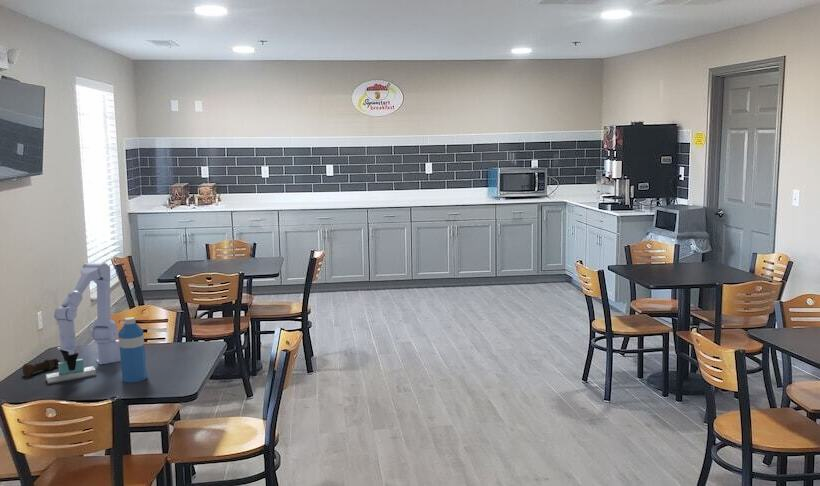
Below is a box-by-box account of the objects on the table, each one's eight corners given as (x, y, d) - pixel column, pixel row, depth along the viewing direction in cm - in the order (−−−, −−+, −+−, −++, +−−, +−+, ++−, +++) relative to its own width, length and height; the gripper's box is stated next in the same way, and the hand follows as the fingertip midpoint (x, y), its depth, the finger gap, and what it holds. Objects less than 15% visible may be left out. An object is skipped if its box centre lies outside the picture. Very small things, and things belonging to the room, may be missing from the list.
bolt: (59, 370, 330) (28, 379, 317) (52, 363, 332) (20, 372, 319) (63, 359, 328) (31, 368, 315) (56, 353, 330) (24, 361, 317)
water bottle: (151, 376, 312) (147, 316, 308) (136, 383, 303) (131, 321, 299) (132, 374, 315) (127, 315, 311) (117, 381, 306) (112, 320, 303)
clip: (83, 373, 316) (81, 358, 316) (84, 375, 314) (82, 359, 313) (59, 377, 312) (58, 362, 311) (60, 379, 310) (59, 363, 309)
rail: (93, 371, 320) (93, 366, 320) (96, 375, 315) (95, 369, 315) (46, 380, 311) (45, 374, 310) (48, 384, 306) (47, 378, 305)
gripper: (54, 333, 315) (57, 365, 317) (59, 340, 302) (62, 374, 304) (72, 330, 318) (75, 362, 320) (78, 337, 306) (81, 370, 308)
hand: (70, 367), depth 313 cm, fingers open, 7 cm apart
